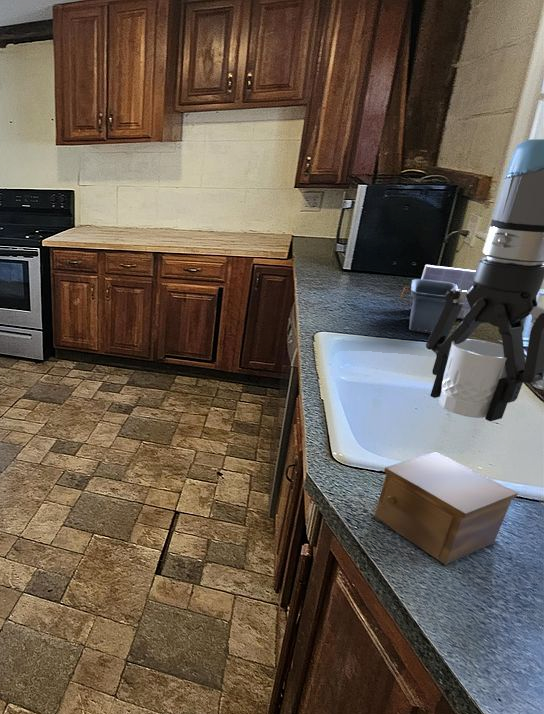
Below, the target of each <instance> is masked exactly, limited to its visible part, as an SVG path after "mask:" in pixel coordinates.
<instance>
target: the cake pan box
mask: <svg viewBox="0 0 544 714" xmlns="http://www.w3.org/2000/svg"><path fill="white" fill-rule="evenodd" d="M475 272H476V270H474V269H473V270H472V269H464V268H457V267H448V266H440V265H433V264H432V265H431V264H425V265H424V268H423V271H422V275H421V277H420V279H422V280H431V281H440V282H448V283H453V284H456V285H457V287H458V289H462V290H463V291H468V290H469V289H470V288H471V287H472V286H473V278H474V275H475ZM470 310H471V308H470V306H469V303H468V300H467V301H466V302H465V303H464V304H463V306H462V308H461V311H460V313H459V315H458V317H457V319H461V320H462V319H463V318H464V317H465V316H466V314H467V313H468V312H469V311H470Z"/></svg>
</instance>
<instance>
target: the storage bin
mask: <svg viewBox="0 0 544 714" xmlns="http://www.w3.org/2000/svg"><path fill="white" fill-rule="evenodd" d="M457 289H458V287H457V285H456V284H453V283H448V282H440V281H431V280H422V279H421V278H419V279H418V278H417V279H416V278H415V279H412V280H411V284H410V286H405V287H404V288H403V290H402V293H401V296H400V299H401V300H402V299H403V298H404V296H405V292H410V297H411V298H413V300H412V305H411V311H410V314H409V315H410V316H409V327H408V329H409V331H412V332H417V333H423V334H430V335H431V333H432V332H431V331H433V329H434V327H435V324H436V322H437V320H438V318H439V316H440V314H441V312H442V310H443V308H444V305H445V295H446V292H447V291H450V290H457ZM418 329H419V330H418ZM425 330H427V331H425Z"/></svg>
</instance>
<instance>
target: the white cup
mask: <svg viewBox="0 0 544 714" xmlns="http://www.w3.org/2000/svg"><path fill="white" fill-rule="evenodd" d="M506 359H507V358H504V351H503V344H500V343H497V342H492V341H488V340H481V339H473V338H467V339H466V340H465V341H464V342H462V343H460V344H455V342H454V341H453V342H452V344H451V348H450V352H449V356H448V360H447V364H446V368H445V372H444V377H443V382H442V390H441V394H440V397H438V405H440V406H441V408H442V409H445V410H447V411H449V412H451V413H452V414H456V415H459V416H463V417H468V418H475V419H484V418H486V415H487V412H488V410H489V407H490V404H491V401H492V398H493V395H494V393H495V390H496V387H497V384H498V381H499V379H502V378H506V377H507V376H506V368H505V362H506Z"/></svg>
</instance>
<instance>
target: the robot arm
mask: <svg viewBox="0 0 544 714" xmlns="http://www.w3.org/2000/svg"><path fill="white" fill-rule="evenodd" d="M503 177H504V178H503V181H502V184H501V187H500V191H499V194H498V198H497V201H496V205H495V207H494V212H493V214H492V218H491V221H490V225H489V228H488V231H487V234H486V238H485V241H484V243H483V247H482V249H481V253H482V254H483V255H484V257H481V258H480V259H479V260H478V262H477V266H476V268H475V271H476V272H475V275H474V278H473V286H472V287H471V288H470V289H469V290H468V291H463V290H462V289H457V290H450V291H447V292H446V295H445V305H444V308H443V310H442V312H441V314H440V316H439V318H438V320H437V322H436V324H435V327H434V329H433V331H432V333H431V334H430V335H429V337H428V340H427V342H426V344H425V348H426V349H427V350H430V351H432V352H434V354H435V355H436V358H435V361H434V364H433V367H432V373H431V374H432V375H434V376H435V379H434V382H433V384H432V388H431V391H430V395H429V396H430V397H431V398H434V399H436V398H439V397H440V394H441V390H442V382H443V377H444V372H445V368H446V364H447V360H448V356H449V352H450V348H451V344H452V342H453V341H454V342H455V344H460V343H462V342H464V341H465V340H466V339H469V337H470V336H471V335H472V334H473V333H474V332H475V330H476V329H477V328H478V327H479V326H481V324H490V325H492V326H493V327H497V328H498V334H499V335H500V336H501V341H502V345H503V351H504V358H507V359H506V362H505V368H506V376H507V377H506V378H502V379H499V381H498V384H497V387H496V390H495V393H494V395H493V398H492V401H491V404H490V407H489V410H488V412H487V415H486V418H485V419H484V420H486V421H488V422H494V421H497V420H501V419H503V417H504V414H505V411H506V409H507V406H508V404H510V403H513V402H515V401H516V400H517V399H518V396H519V394H520V392H521V389H522V387H523V384H524V383H526V384H531V383H535V382H539V381H542V380H543V379H544V308H543V307H540V306H538V301H537V296H538V294H539V292H540V290H541V288H542V286H543V283H544V138H543V139H541V138H539V139H538V138H534V139H527V140H524V141H522V142H520V143H519V144H518V145H517V146H516V147H515V148H514V150H513V153H512V156H511V159H510V161H509V164H508V167H507V169H506V172H505V174H504V176H503ZM467 300H468V303H469V306H470V308H471V310H470V311H469V312H468V313H467V314H466V316H465V317H464V318H463V319H461V320H462V321H461V322H460V323H459V324H458V325H457V327H456V328H455V329H454V330H453V331H452V329H453V326H455V323H456V321H457V319H458V318H457V317H458V315H459V313H460V311H461V308H462V306H463V304H464V303H465V302H466V301H467ZM530 315H531V320H530V323H531V324H532V326H531V329H530V333H529V339H528V344H527V351H526V355H525V348H524V338H523V332H524V328H525V327H524V319H525V318H526V317H528V316H530ZM451 331H452V332H451ZM450 333H451V334H450Z"/></svg>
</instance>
